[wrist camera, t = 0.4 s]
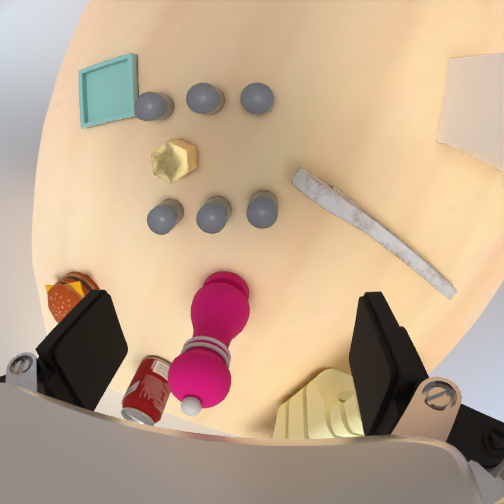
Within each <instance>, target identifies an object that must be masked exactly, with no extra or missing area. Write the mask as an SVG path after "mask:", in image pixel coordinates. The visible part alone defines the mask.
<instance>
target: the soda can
mask: <svg viewBox="0 0 504 504" xmlns="http://www.w3.org/2000/svg"><path fill="white" fill-rule="evenodd" d="M169 368H170V365H169V364H168V363H167V362H165V361H163V360H161V359H158V358H153V357H149V358H145V359H143V360H142V362H141V364H140V366H139V368H138V370H137V372H136V374H135V376H134V377H133V379H132V381H131V383H130V385H129V387H128V389H127V391H126V393H125V396H124V398H123V400H122V407H123V409H122V411H121V414H122V416H123V417H124V418H125V419H126V420H128V421H132V422H137V423H141V424H146V425H151V426H154V423H156V422H158V421H159V420H160V418H161V416H162V413H163V410H164V408H165V405H166V402H167V400H168V397H169V394H170V392H171V390H170V388H169V385H168V378H167V377H168V371H169Z"/></svg>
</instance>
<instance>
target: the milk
mask: <svg viewBox="0 0 504 504" xmlns="http://www.w3.org/2000/svg"><path fill="white" fill-rule="evenodd" d="M436 142H439V143H441V144H444V145H446V146H448V147H451V148H453V149H455V150H458V151H460V152H462V153H464V154H466V155H469V156H471V157H473V158H475V159H477V160H479V161H481V162H483V163H485V164H487V165H489V166H491V167H493V168H495V169H497V170H499V171H502V172H504V53H497V54H486V55H477V56H469V57H462V58H455V59H449V60H447V69H446V79H445V88H444V96H443V103H442V110H441V116H440V122H439V128H438V133H437V139H436Z"/></svg>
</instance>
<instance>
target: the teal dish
mask: <svg viewBox="0 0 504 504" xmlns="http://www.w3.org/2000/svg"><path fill="white" fill-rule="evenodd" d="M138 97H139V90H138V58H137V55H136V54H133V53H130V54H127V55H123V56H120V57H117V58H113V59H110V60H107V61H104V62H101V63H98V64H95V65H93V66H90V67H87V68H84V69H82V70H79V104H80V120H81V129H84V128H90V127H93V126H97V125H101V124H105V123H110V122H114V121H118V120H123V119H128V118H133V117H137V116H136V114H135V112H134V104H135V101H136V99H137V98H138Z"/></svg>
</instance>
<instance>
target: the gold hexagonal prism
mask: <svg viewBox="0 0 504 504" xmlns="http://www.w3.org/2000/svg"><path fill="white" fill-rule="evenodd" d="M151 155H152V165H153V173H154V175H155V176H157V177H159V178H161V179H163V180H165V181H167V182H169V183H171V184H172V183H174V182H175V181H177V180H179V179H180V178H182V177H184V176H185V175H186V174H188V173H189V172H191V171H192V170H193V169H195V168H196V167H198V159H197V147H195V146H193V145H191V144H189V143H187V142H185V141H183V140H180V139H178V140H172V141H167V142H166V143H165V144H164V145H162V146H161V147H160V148H159V149H157V150H156V151H155V152H154V153H152V154H151Z"/></svg>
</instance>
